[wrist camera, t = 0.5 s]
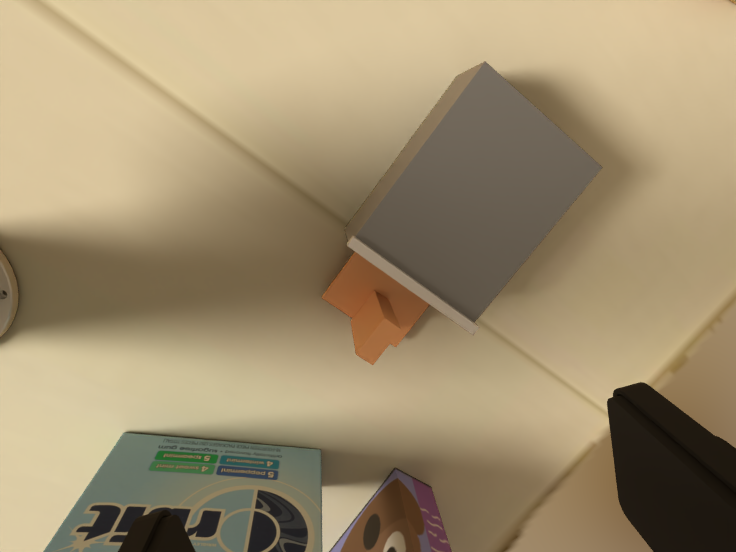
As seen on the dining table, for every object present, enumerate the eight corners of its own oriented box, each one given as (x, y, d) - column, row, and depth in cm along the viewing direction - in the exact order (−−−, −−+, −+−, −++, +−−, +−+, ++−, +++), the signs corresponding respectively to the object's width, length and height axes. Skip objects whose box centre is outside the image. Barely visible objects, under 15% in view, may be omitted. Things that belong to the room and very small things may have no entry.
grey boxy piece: (447, 303, 44) (473, 335, 37) (342, 227, 41) (347, 245, 34) (559, 165, 42) (610, 169, 34) (455, 74, 39) (486, 57, 31)
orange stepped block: (392, 346, 44) (406, 387, 37) (320, 298, 42) (319, 330, 35) (504, 207, 41) (543, 220, 34) (431, 148, 39) (456, 149, 32)
